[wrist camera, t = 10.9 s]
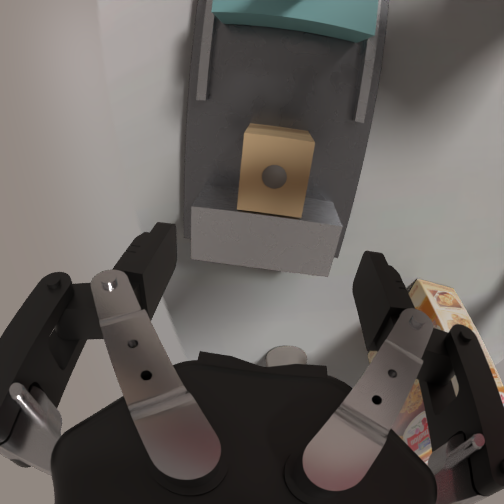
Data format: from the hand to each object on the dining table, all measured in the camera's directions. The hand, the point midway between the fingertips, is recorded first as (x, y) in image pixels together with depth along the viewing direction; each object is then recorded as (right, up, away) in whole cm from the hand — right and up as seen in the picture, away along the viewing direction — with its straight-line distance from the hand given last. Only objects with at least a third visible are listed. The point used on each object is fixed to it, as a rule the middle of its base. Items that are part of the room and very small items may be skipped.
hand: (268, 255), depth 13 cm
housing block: (+1, +8, +13) cm, 16 cm away
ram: (+3, +20, +6) cm, 21 cm away
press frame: (+2, +13, +12) cm, 18 cm away
